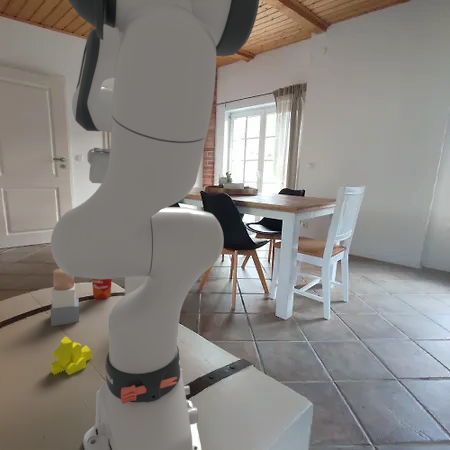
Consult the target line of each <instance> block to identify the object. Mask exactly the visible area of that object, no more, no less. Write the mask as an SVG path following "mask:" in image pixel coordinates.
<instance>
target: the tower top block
mask: <svg viewBox="0 0 450 450" xmlns="http://www.w3.org/2000/svg"><path fill="white" fill-rule="evenodd" d="M76 297H77V295H76V282H74V287H73V288H71V289H68V290H55V289H54V286H53V288H52V290H51V299H52V300H51V305H52V307H53V308H62V307H70V306H75V300H76Z"/></svg>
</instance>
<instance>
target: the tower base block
mask: <svg viewBox="0 0 450 450" xmlns="http://www.w3.org/2000/svg"><path fill="white" fill-rule="evenodd" d="M79 301H80V300H79V296H76V300H75V306H70V307H62V308H53V307H52V304H51V305H50V326H51V327H54V326H55V327H56V326H61V325H67V324H73V323H74V324H75V323H79V322H80V303H79Z"/></svg>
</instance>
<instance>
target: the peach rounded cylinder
mask: <svg viewBox="0 0 450 450" xmlns="http://www.w3.org/2000/svg"><path fill="white" fill-rule="evenodd" d="M52 272H53V275H52V276H53V277H52V278H53V287H54V289H55V290H68V289H71V288H73V287H74V283H75V277H73V276H68V275H67V274H65V273H64V272H63V271H62V270H61V269H60V268H59V267H58V268H56V269H54V270H53V271H52Z"/></svg>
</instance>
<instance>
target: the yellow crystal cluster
mask: <svg viewBox="0 0 450 450" xmlns="http://www.w3.org/2000/svg"><path fill="white" fill-rule="evenodd" d="M51 356H52V357H53V358H55V359H57V360H54V361H53V362H51V363H50V372H51V374H52V373H53V374H54V375H53V376H55V374H56V375H58V374H59V372H60V373H62V371H63V372H65V373H66V374H67V375H68V376H71V375H72V374H74V373H76V372H79V371H81V370H83V369H85V368H87V361H89V360H91V359H92V350H91V349H90V347H89V346H88V345H86V344H85V345H84V346H83V347H82V344H81V343H79V342H73V341H72V340H71V339H70V338H69V337H68V336H66V335H65V336H64V337H63V338H62V339H61V340H60V342H59V346H58V347H57V348H56V349H55V350H54V352H53V353H51ZM64 370H65V371H64ZM57 373H58V374H57Z"/></svg>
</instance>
